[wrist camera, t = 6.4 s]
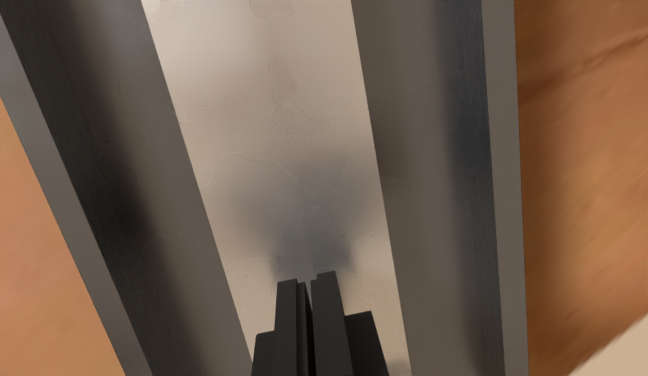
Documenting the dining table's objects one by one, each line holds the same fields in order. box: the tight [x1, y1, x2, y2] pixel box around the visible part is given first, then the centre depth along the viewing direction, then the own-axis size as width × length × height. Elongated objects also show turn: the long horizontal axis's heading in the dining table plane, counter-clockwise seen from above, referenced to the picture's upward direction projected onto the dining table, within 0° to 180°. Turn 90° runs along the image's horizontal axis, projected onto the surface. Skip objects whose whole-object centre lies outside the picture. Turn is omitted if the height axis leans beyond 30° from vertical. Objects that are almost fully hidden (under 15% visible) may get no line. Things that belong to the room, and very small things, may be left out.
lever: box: [141, 0, 413, 376], centre depth 12 cm, size 19×5×2 cm, turn 11°
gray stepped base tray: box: [0, 0, 529, 376], centre depth 14 cm, size 22×14×7 cm, turn 11°
